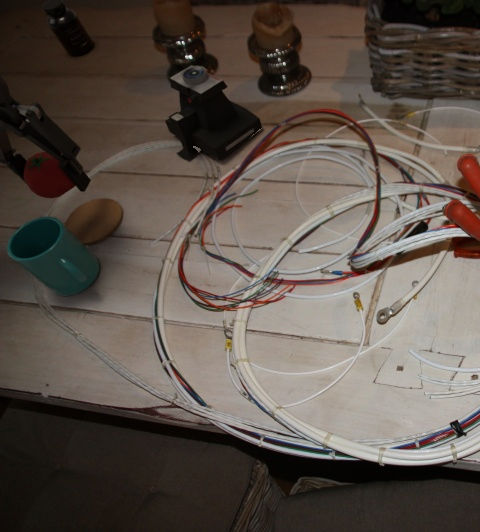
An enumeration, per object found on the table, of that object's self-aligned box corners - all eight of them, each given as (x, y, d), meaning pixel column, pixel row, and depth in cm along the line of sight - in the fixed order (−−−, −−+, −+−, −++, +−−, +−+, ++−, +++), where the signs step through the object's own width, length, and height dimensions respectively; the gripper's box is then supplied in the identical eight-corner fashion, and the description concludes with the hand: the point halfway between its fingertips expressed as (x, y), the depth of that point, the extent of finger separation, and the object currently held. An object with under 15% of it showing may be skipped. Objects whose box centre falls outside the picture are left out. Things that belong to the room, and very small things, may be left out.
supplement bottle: (62, 52, 138) (31, 7, 128) (83, 37, 141) (55, -7, 131) (78, 59, 135) (47, 14, 125) (99, 45, 138) (71, -1, 128)
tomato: (44, 211, 92) (15, 182, 87) (36, 183, 97) (8, 153, 91) (90, 190, 94) (65, 160, 88) (80, 163, 98) (55, 133, 93)
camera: (246, 71, 103) (183, 111, 96) (263, 133, 115) (209, 172, 107) (192, 47, 110) (130, 82, 103) (214, 108, 121) (159, 143, 114)
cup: (79, 314, 92) (36, 278, 83) (40, 282, 97) (-5, 245, 87) (121, 276, 95) (84, 238, 86) (82, 247, 100) (43, 208, 91)
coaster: (55, 244, 101) (53, 242, 101) (80, 199, 107) (78, 197, 107) (110, 245, 100) (108, 243, 99) (131, 200, 106) (130, 198, 105)
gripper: (-117, 95, 76) (-2, 202, 95) (19, 91, 73) (109, 202, 92) (-86, 62, 80) (18, 170, 99) (44, 57, 77) (125, 170, 96)
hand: (62, 185), depth 95 cm, fingers closed on tomato, 8 cm apart
